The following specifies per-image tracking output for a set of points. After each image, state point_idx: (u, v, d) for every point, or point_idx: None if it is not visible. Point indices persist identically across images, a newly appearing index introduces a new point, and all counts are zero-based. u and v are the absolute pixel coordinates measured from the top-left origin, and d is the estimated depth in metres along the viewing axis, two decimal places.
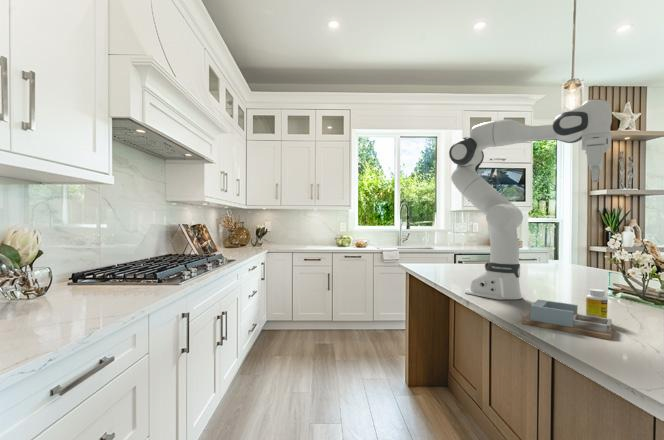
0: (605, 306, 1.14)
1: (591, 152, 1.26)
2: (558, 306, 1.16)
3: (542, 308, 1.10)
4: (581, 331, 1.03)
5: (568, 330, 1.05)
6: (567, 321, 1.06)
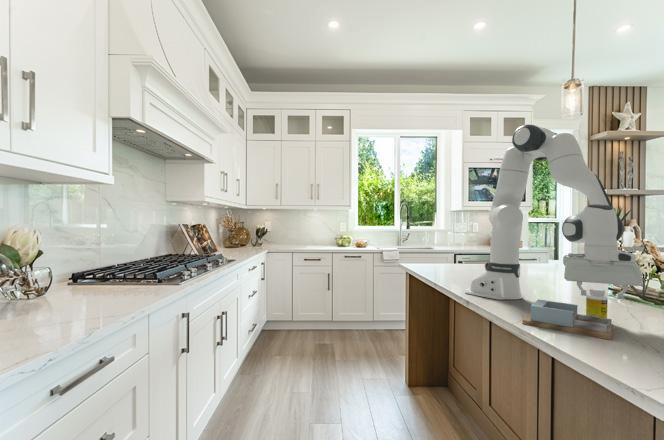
0: (605, 306, 1.14)
1: (640, 271, 1.10)
2: (558, 306, 1.16)
3: (542, 308, 1.10)
4: (581, 331, 1.03)
5: (568, 330, 1.05)
6: (567, 321, 1.06)
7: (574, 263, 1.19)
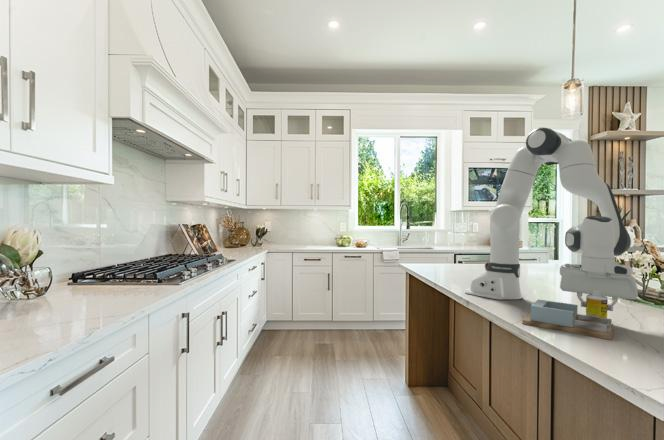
0: (605, 306, 1.14)
1: (636, 284, 1.10)
2: (558, 306, 1.16)
3: (542, 308, 1.10)
4: (581, 331, 1.03)
5: (568, 330, 1.05)
6: (567, 321, 1.06)
7: (570, 274, 1.20)
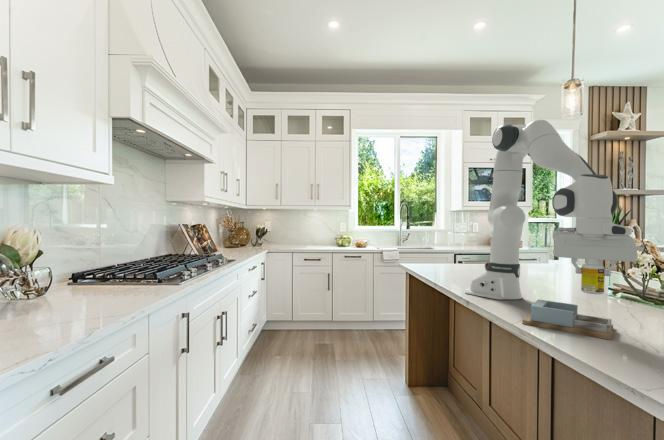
0: (602, 275, 1.04)
1: None
2: (558, 306, 1.16)
3: (542, 308, 1.10)
4: (581, 331, 1.03)
5: (568, 330, 1.05)
6: (567, 321, 1.06)
7: (564, 238, 1.10)
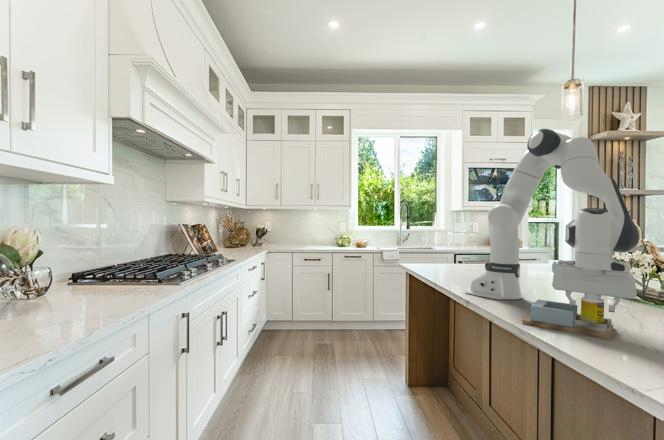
0: (601, 309, 1.05)
1: None
2: (558, 306, 1.16)
3: (542, 308, 1.10)
4: (581, 331, 1.03)
5: (568, 330, 1.05)
6: (567, 321, 1.06)
7: (563, 271, 1.10)
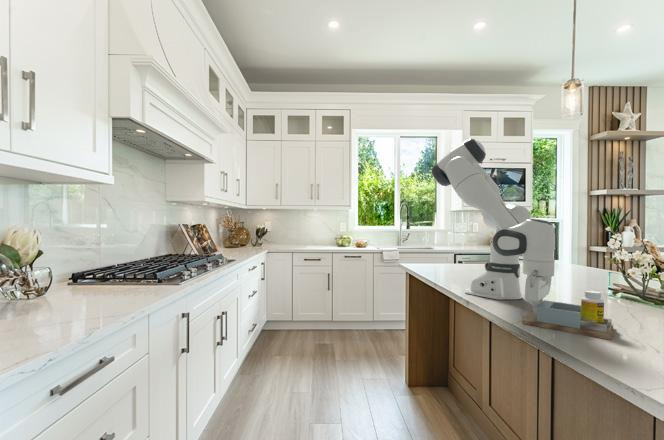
0: (601, 309, 1.05)
1: None
2: (564, 307, 1.15)
3: (548, 309, 1.09)
4: (581, 331, 1.03)
5: (568, 330, 1.05)
6: (574, 322, 1.05)
7: (540, 282, 1.09)
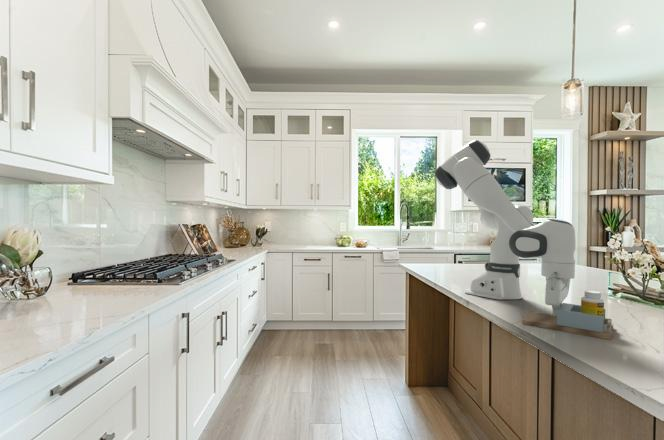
0: (601, 309, 1.05)
1: None
2: None
3: (569, 312, 1.05)
4: (581, 331, 1.03)
5: (568, 330, 1.05)
6: (597, 326, 1.01)
7: (560, 285, 1.06)
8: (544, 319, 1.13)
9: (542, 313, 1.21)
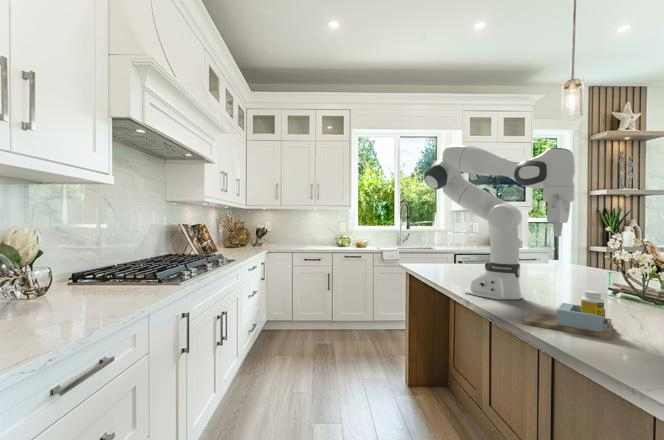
0: (601, 309, 1.05)
1: None
2: None
3: (569, 312, 1.05)
4: (581, 331, 1.03)
5: (568, 330, 1.05)
6: (597, 326, 1.01)
7: (561, 204, 1.15)
8: (544, 319, 1.13)
9: (542, 313, 1.21)
